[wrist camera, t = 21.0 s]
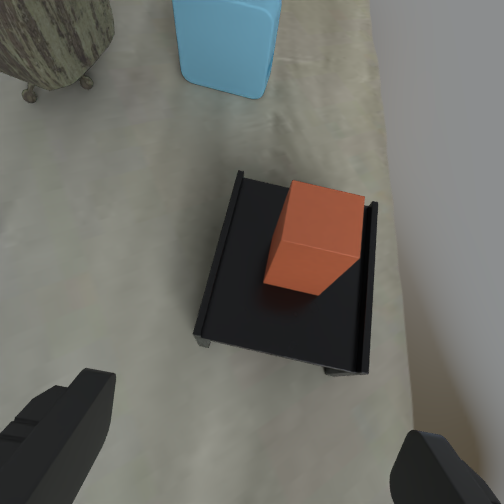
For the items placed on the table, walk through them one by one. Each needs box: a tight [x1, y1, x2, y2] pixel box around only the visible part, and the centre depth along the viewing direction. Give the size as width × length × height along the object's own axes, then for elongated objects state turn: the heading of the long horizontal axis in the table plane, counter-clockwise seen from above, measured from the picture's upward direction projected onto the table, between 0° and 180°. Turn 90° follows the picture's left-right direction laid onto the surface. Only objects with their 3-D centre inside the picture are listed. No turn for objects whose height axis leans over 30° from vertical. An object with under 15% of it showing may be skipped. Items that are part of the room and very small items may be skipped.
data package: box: [172, 0, 281, 99], centre depth 41 cm, size 12×4×12 cm, turn 76°
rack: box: [193, 171, 378, 377], centre depth 31 cm, size 14×16×8 cm
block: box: [263, 180, 365, 295], centre depth 24 cm, size 5×5×9 cm
